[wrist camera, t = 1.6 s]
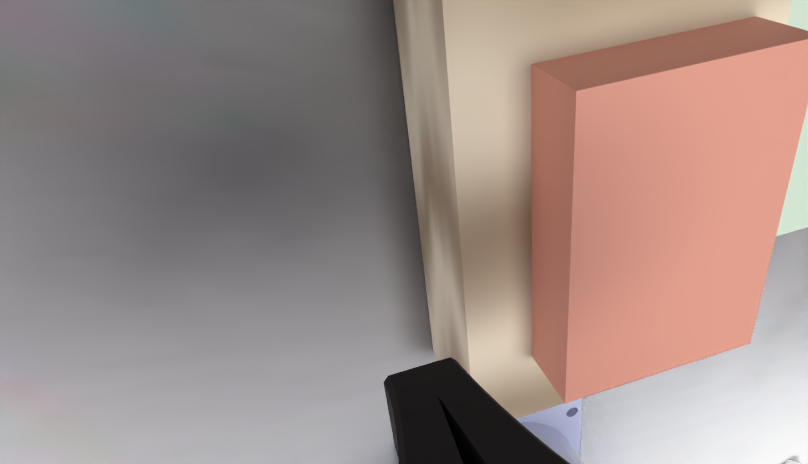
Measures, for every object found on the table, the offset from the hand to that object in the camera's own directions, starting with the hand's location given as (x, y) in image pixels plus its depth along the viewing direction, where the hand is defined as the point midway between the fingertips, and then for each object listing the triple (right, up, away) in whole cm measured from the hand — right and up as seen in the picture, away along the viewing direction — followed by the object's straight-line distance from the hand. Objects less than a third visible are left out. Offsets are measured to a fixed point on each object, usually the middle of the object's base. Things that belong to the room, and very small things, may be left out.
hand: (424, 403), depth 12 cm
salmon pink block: (+6, +4, +5) cm, 9 cm away
